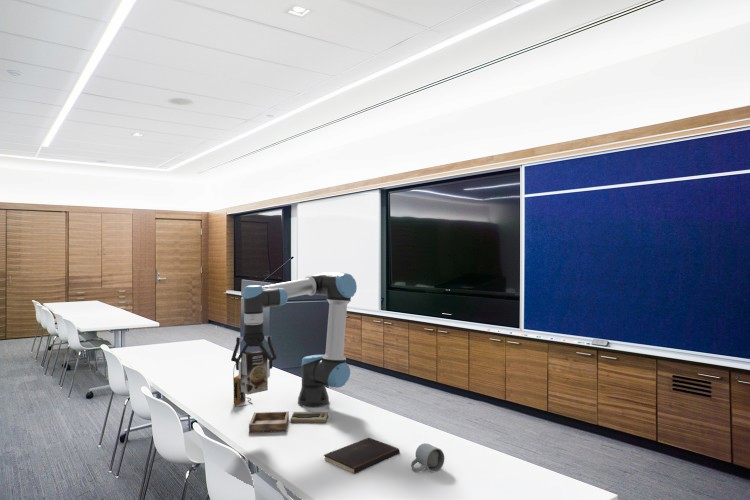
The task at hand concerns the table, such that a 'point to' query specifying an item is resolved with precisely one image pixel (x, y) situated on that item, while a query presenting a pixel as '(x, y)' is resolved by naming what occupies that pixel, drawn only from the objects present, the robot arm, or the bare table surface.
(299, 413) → the computer
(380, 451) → the hardcover book
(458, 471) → the table surface
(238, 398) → the multimeter
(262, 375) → the coffee box
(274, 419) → the tray
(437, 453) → the ceramic mug
